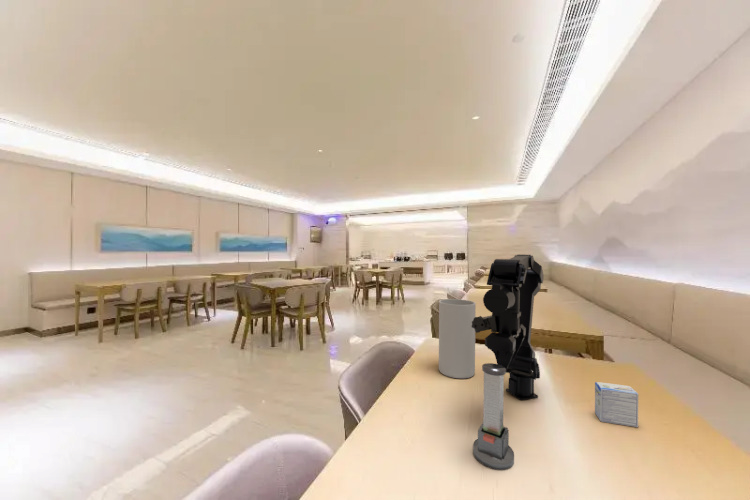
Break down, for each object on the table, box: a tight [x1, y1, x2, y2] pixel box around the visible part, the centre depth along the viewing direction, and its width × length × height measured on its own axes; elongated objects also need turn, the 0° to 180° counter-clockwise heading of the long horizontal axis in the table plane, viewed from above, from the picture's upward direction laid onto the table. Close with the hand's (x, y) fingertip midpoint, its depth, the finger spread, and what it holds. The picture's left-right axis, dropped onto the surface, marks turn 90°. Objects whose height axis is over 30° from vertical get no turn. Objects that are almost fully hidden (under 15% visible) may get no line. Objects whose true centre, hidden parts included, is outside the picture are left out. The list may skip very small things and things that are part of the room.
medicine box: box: [594, 381, 639, 428], centre depth 77 cm, size 8×4×9 cm, turn 71°
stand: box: [472, 422, 515, 471], centre depth 63 cm, size 8×8×6 cm
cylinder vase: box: [438, 298, 477, 379], centre depth 107 cm, size 12×12×25 cm
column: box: [481, 362, 506, 436], centre depth 63 cm, size 5×5×13 cm
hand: (506, 368), depth 77 cm, fingers open, 9 cm apart
